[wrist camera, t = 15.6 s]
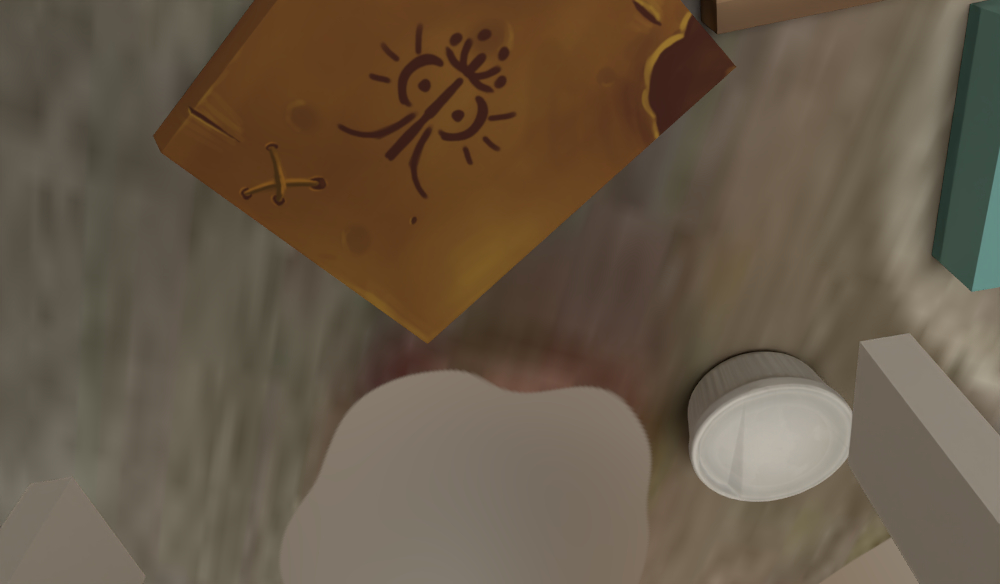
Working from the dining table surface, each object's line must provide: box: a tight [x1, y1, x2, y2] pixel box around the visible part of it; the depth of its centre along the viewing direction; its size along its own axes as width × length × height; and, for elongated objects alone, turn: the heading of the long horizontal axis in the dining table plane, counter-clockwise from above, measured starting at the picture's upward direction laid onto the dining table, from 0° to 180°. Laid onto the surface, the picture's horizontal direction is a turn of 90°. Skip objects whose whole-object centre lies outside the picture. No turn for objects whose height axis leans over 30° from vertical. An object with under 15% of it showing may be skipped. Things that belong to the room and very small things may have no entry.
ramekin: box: [688, 352, 853, 502], centre depth 52 cm, size 11×11×5 cm
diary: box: [153, 0, 736, 344], centre depth 38 cm, size 23×19×6 cm
